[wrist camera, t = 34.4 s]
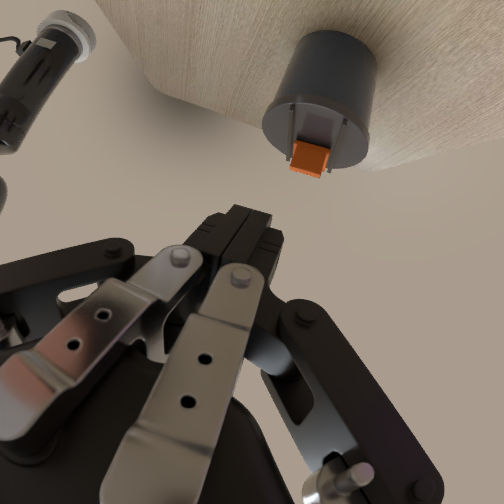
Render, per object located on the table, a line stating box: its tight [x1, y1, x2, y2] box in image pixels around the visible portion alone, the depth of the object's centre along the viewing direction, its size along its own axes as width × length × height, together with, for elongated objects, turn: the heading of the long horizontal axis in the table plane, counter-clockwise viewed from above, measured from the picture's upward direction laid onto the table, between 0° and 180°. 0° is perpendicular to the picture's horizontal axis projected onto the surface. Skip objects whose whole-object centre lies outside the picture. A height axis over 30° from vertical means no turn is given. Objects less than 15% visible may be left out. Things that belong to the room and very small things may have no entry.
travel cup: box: [262, 31, 377, 173], centre depth 29 cm, size 11×11×13 cm
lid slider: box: [290, 140, 331, 178], centre depth 30 cm, size 4×4×3 cm
